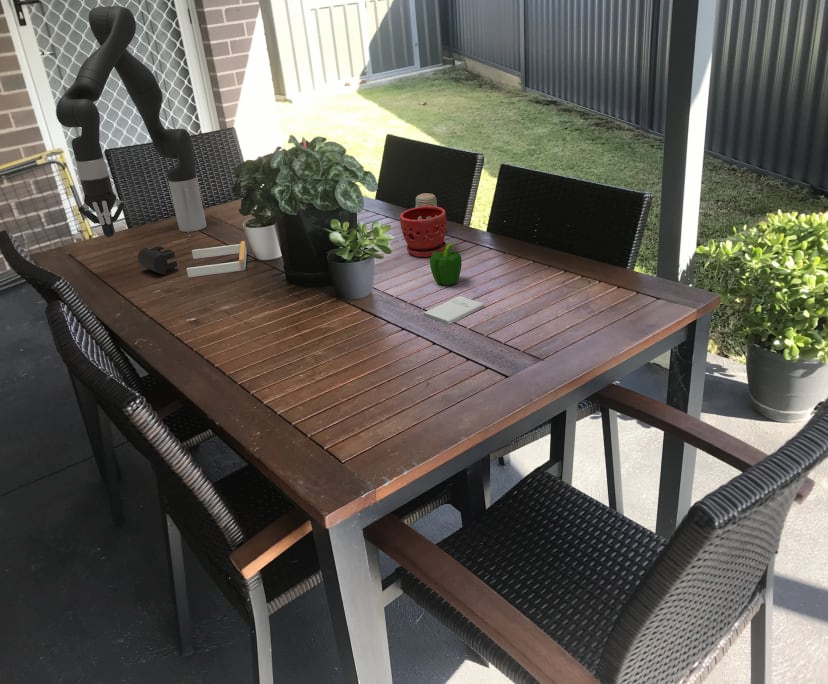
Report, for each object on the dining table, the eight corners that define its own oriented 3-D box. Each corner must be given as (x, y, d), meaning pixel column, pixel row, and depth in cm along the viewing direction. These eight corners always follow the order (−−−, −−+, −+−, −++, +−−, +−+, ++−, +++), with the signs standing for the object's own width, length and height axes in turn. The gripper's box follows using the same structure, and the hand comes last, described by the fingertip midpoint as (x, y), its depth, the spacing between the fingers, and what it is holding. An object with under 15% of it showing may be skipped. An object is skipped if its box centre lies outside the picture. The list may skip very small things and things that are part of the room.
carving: (432, 237, 223) (429, 199, 218) (411, 234, 227) (408, 196, 221) (442, 231, 228) (440, 193, 222) (422, 228, 231) (420, 191, 226)
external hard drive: (423, 318, 172) (458, 301, 180) (448, 327, 167) (484, 309, 174) (422, 312, 172) (458, 295, 179) (448, 321, 166) (483, 302, 174)
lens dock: (193, 257, 222) (191, 247, 220) (246, 251, 224) (244, 240, 222) (188, 277, 207) (186, 266, 205) (245, 270, 209) (243, 259, 207)
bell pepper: (440, 290, 185) (437, 253, 180) (426, 280, 192) (424, 244, 187) (469, 283, 188) (467, 247, 183) (454, 274, 194) (453, 238, 190)
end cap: (140, 272, 214) (135, 250, 211) (162, 264, 219) (157, 243, 216) (157, 279, 208) (151, 256, 205) (179, 271, 212) (174, 249, 209)
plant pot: (420, 242, 220) (417, 203, 214) (456, 248, 213) (454, 208, 207) (394, 255, 211) (390, 215, 205) (431, 262, 203) (428, 221, 198)
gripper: (121, 169, 203) (136, 229, 210) (72, 175, 201) (88, 235, 209) (116, 175, 196) (132, 237, 204) (65, 181, 194) (83, 243, 202)
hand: (110, 236), depth 206 cm, fingers closed
